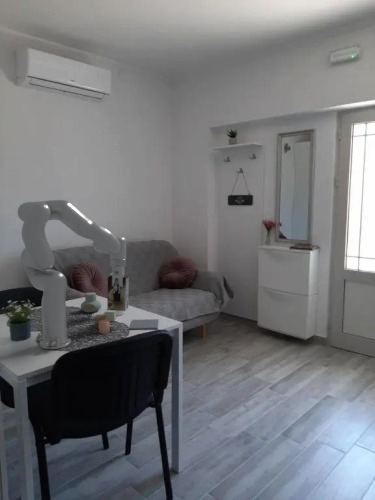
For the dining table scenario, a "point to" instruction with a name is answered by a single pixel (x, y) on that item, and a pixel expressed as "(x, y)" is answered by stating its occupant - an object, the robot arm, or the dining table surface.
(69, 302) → the dining table surface
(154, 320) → the slate mat
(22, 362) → the dining table surface
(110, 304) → the coffee box
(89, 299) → the air freshener
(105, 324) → the terracotta cylinder
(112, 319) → the sage block
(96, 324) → the walnut block
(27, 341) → the dining table surface
